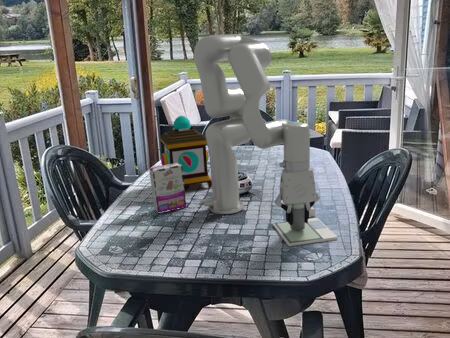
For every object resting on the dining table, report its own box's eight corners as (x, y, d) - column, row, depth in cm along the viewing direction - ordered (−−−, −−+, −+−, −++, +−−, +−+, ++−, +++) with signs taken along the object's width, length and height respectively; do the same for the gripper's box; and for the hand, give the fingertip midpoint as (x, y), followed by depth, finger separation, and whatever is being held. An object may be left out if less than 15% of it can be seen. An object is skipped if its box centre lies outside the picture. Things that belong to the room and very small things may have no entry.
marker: (293, 231, 133) (292, 203, 130) (288, 225, 137) (287, 198, 135) (307, 229, 134) (306, 201, 131) (301, 223, 138) (301, 196, 135)
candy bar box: (181, 204, 167) (177, 162, 162) (186, 207, 162) (183, 165, 158) (153, 210, 162) (148, 167, 157) (157, 214, 158) (153, 170, 153)
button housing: (297, 218, 147) (297, 211, 146) (292, 211, 153) (291, 204, 152) (315, 216, 148) (315, 208, 147) (308, 209, 154) (308, 202, 153)
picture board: (288, 246, 128) (288, 243, 127) (273, 225, 142) (273, 223, 142) (337, 239, 130) (337, 236, 130) (317, 219, 145) (317, 217, 145)
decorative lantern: (203, 176, 200) (198, 110, 192) (216, 188, 182) (211, 116, 174) (159, 182, 195) (152, 114, 186) (168, 196, 176) (160, 121, 168)
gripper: (273, 171, 125) (274, 230, 130) (328, 165, 128) (328, 223, 133) (265, 164, 132) (267, 221, 137) (318, 159, 135) (318, 214, 140)
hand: (297, 221), depth 135 cm, fingers closed on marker, 4 cm apart
